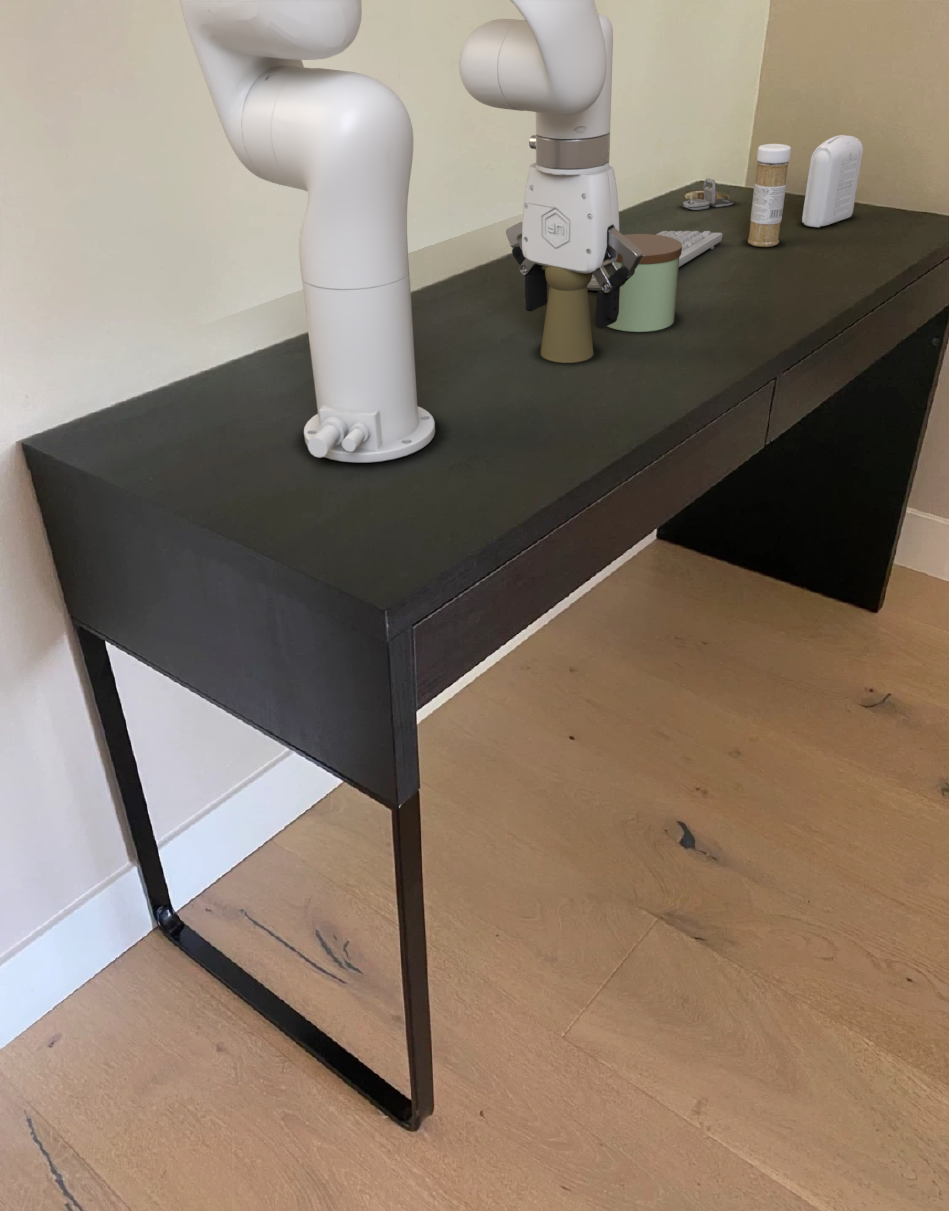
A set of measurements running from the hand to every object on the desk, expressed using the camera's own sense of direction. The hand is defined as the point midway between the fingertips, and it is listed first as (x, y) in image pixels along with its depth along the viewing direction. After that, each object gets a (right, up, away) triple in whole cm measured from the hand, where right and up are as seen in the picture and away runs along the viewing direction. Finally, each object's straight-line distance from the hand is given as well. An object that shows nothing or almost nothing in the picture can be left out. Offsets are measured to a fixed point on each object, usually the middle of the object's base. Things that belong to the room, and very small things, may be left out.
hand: (570, 315), depth 116 cm
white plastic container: (+45, +28, +47) cm, 70 cm away
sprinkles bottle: (+32, +21, +37) cm, 53 cm away
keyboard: (+14, +15, +30) cm, 36 cm away
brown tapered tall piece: (0, -4, +2) cm, 4 cm away
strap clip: (+28, +34, +57) cm, 72 cm away
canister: (+9, +3, +11) cm, 14 cm away
